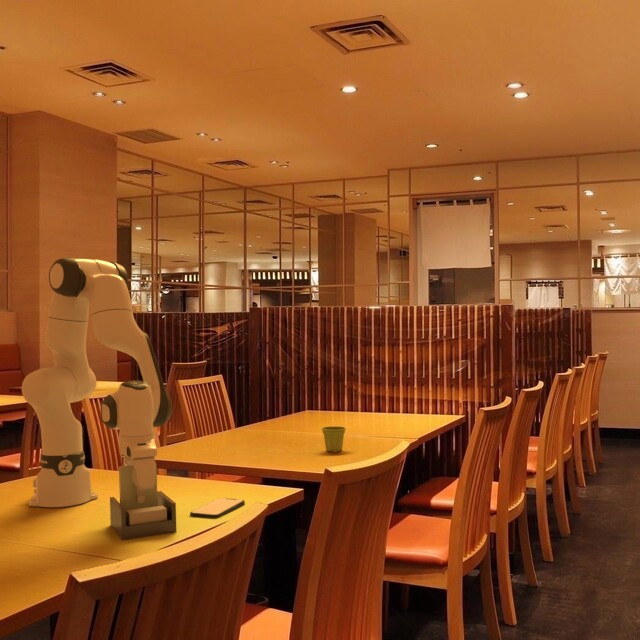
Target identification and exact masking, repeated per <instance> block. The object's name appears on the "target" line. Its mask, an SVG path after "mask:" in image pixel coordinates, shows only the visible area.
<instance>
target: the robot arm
mask: <svg viewBox="0 0 640 640" xmlns="http://www.w3.org/2000/svg"><path fill="white" fill-rule="evenodd" d="M48 282H49V286H50V287H51V289H52V295H51V298H50V302H49V307H48V314H47V322H46V329H45V331H46V332H45V339H44V343H45V346H46V347H47V349H49V350H50V352H51V355H52V361H53V366H50V367H42V368H39V369H37V370H35V371H32V372H31V373H29V374H27V375H26V376H25V377H24V379H23V381H22V383H21V384H22V385H21V393H22V397H23V399H24V400H25V401H26V403H28V405H30V406H31V407H32V409H34V412H35V414H36V417H37V420H38V423H39V427H40V433H41V434H40V437H41V454H40V459H39V462H40V467H41V469H40V471H39V472H38V473H37V474H36V476H35V478H34V479H33V480H32V482H33V483H32V485H33V488H34V492H33V495H32V497H31V498H30V500H29V502H28V506H29V507H40V508H41V507H43V508H64V507H72V506H76V505H82V504H85V503H88V502H89V501H91V500H94V499H98V498H99V496H98V493H96V492H94V491H92V490H93V489H92V479H91V476H92V475H91V470H90V469H89V468H88V467H86V465H85V462H86V460H85V459H86V455H85V451H84V449H83V427H82V426H83V425H82V423H81V421H80V420H79V419H77V418H76V417H75V415H74V413H73V410H72V406H71V403H76V402H77V403H79V402H81V401H82V400H84V399H87V398H88V397H90V396H91V395H92V394H93V393H94V392H95V390H96V388H97V378H96V375H95V373H94V372H93V371H94V370H92V369H91V367H90V364H89V360H88V355H87V338H88V337H87V335H88V325H89V316H90V323H91V328H92V333H93V335H94V337H95V339H97V341H99V343H101V344H102V345H104V346H105V347H107V348H109V349H111V350H112V349H113V350H116V351H119V352H122V353H124V354H127V355H129V356H130V357H132V358H133V359H134V360H135V361H136V362H137V364H138V367H139V370H140V375H141V376H142V380H143V381H142V380H138V379H137V380H135V379H133V380H126V381H123V382H121V383H120V384H119V388H118V390H116V391H115V392H113V393H111V394H108V395H106V397H104V399H103V400H102V402H101V404H100V419H101V422H102V424H104V425H105V426H106V427H107V428H108V429H110V430H117V431H118V430H119V433H118V447H119V449H118V452H119V455H121V456H123V466H130V465H131V466H132V467H133V468H132V483H133V484H134V485H135V486H136V487H137V495H136V496H137V502H138V503H144V502H145V493H146V489H151V488H153V486H154V482H155V463H156V458H155V457H157V456H158V448H157V445H156V436H155V435H156V433H155V428H161V427H163V426H164V425H165V424H167V422H168V421H169V420H170V418H171V417H172V415H173V403H172V400H171V397H170V395H169V392H168V390H167V389H166V386H165V383H164V379H163V377H162V373H161V371H160V367H159V363H158V360H157V357H156V354H155V351H154V348H153V345H152V342H151V339H150V337H149V335H148V334H147V333H146V332H144V331H143V330H142V329H141V328H140V327H139V326H138V324H137V321H136V319H135V317H134V311H133V305H132V299H131V295H130V293H129V289H128V285H129V277H128V272H127V270H126V268H125V267H124V266H123V265H122V264H119V263H117V262H114V261H106V260H102V259H95V258H72V257H62V258H58V259H56V260H55V261H54V262H53V263H52V265H51V267H50V269H49V272H48Z"/></svg>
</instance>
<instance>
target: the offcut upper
mask: <svg viewBox="0 0 640 640" xmlns="http://www.w3.org/2000/svg"><path fill="white" fill-rule="evenodd" d="M162 520H167V509H166V508H165V507H164V506H156V507H149V508H141V509H134V510H127V511H126V523H127V524H128V525H134V524H141V523H148V522H155V521H162Z"/></svg>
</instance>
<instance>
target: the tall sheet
mask: <svg viewBox="0 0 640 640" xmlns="http://www.w3.org/2000/svg"><path fill="white" fill-rule="evenodd" d="M132 468H133V467H132V466H131V465H130V466H124V465H122V466H121V465H120V466H118V476H119V477H118V481H119V483H118V485H119V486H118V487H119V503H120V504H121V505H122V506H123V508H124V509H125V512H126V511H127V510H134V509H141V508H149V507H156V506H158V500H157V491H158V472H157V471H158V470H157V469H158V468H157V463H156V462H155V482H154V486H153V488H151V489H146V493H145V502H144V503H138V502H137V496H136V495H137V487H136V486H135V485H134V484H133V483H132Z"/></svg>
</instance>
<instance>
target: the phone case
mask: <svg viewBox="0 0 640 640" xmlns="http://www.w3.org/2000/svg"><path fill="white" fill-rule="evenodd" d="M245 502H246V501H245V500H244V499H240V498H239V499H238V498H226V497H225V498H224V497H220V498H216V499H214V500H212V501H210V502H207V503H205V504H204V505H202V506H200V507H198V508H196V509H194V510H192V511H190V513H189V516H190V517H193V518H203V519H204V518H205V519H219V518H221V517H223V516H225V515H227V514H229V513H231V512H233V511H236V510H237V509H239V508H241V507H243V506H245Z"/></svg>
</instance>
